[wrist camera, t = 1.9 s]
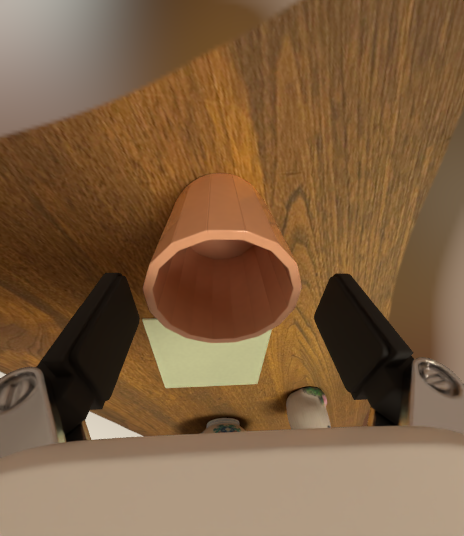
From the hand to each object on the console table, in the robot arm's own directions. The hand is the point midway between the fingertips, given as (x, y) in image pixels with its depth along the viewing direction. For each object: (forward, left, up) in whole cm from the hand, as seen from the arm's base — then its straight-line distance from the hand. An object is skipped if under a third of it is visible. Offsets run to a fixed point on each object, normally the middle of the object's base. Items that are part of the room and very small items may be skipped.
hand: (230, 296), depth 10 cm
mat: (+19, -1, -8) cm, 20 cm away
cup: (0, 0, -8) cm, 8 cm away
